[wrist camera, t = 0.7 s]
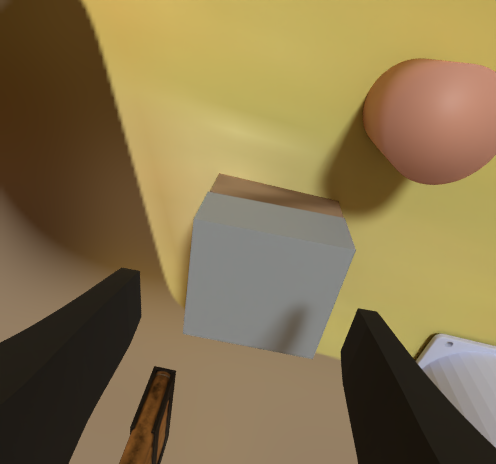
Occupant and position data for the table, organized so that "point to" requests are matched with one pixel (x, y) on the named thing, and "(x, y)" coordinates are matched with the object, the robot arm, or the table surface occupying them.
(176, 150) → the table surface
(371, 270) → the table surface
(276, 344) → the tower top
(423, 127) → the pink cylinder
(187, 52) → the table surface
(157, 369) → the ammunition clip
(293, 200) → the tower base
